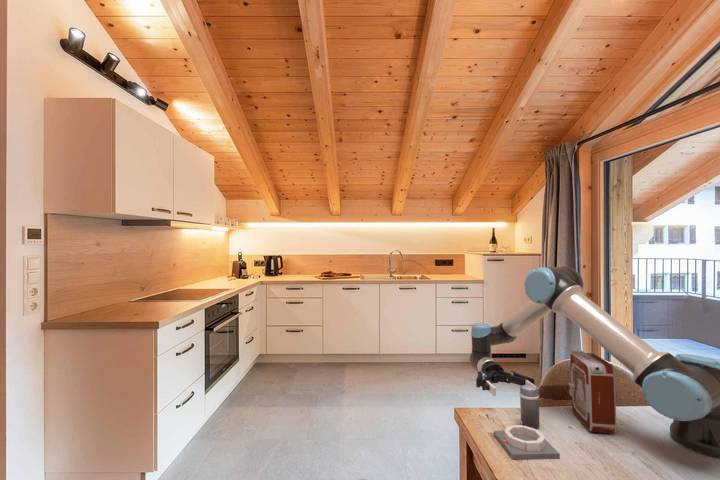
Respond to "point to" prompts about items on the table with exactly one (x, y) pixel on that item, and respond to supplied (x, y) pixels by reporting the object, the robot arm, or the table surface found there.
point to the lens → (529, 406)
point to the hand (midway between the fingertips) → (515, 391)
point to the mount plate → (524, 454)
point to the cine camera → (593, 392)
